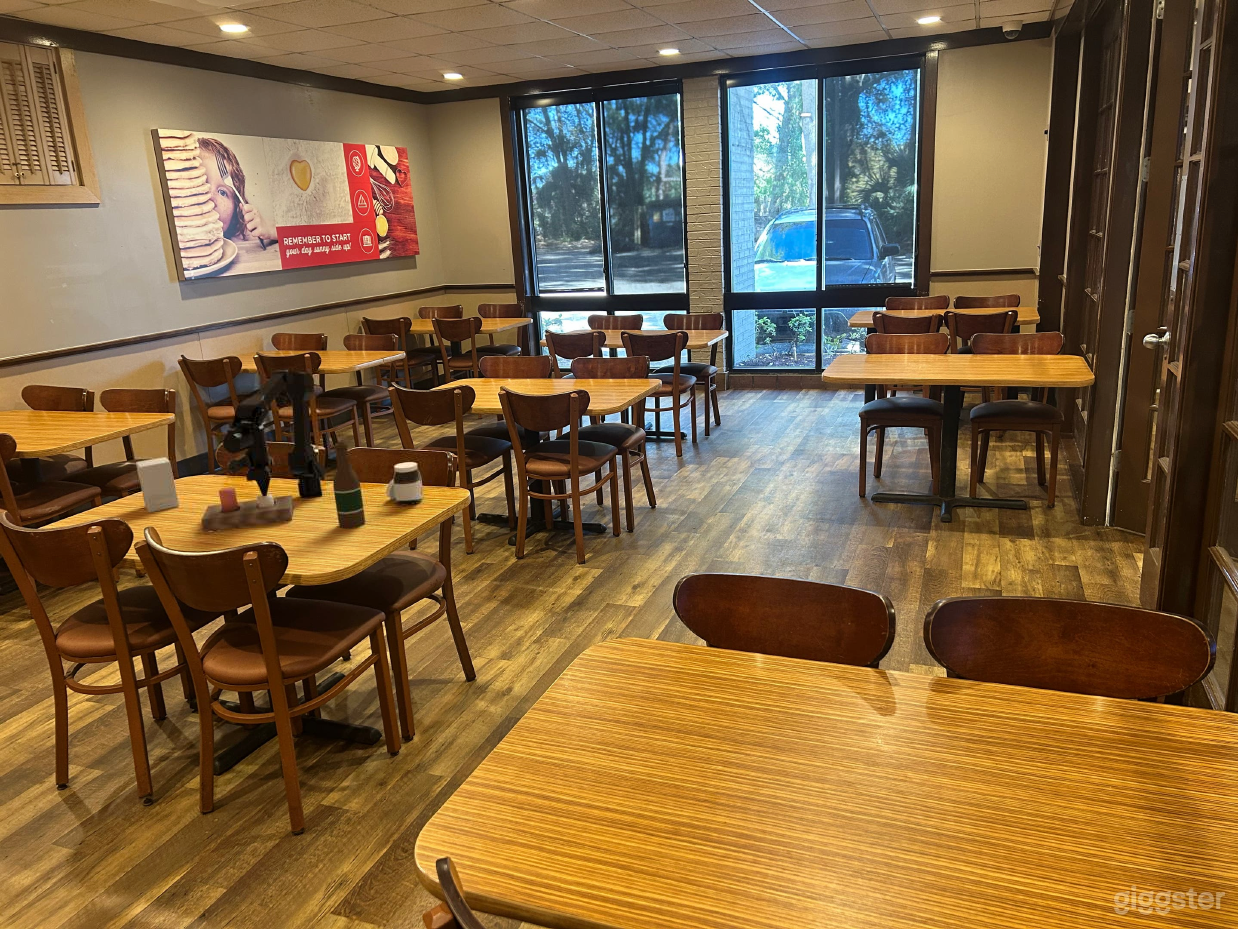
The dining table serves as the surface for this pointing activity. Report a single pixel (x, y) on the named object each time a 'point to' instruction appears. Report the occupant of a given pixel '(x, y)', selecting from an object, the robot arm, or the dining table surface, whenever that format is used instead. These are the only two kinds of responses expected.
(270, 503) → the grey plunger
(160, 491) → the supplement box
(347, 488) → the beer bottle
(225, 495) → the red plunger
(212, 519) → the press panel
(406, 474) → the spread jar
